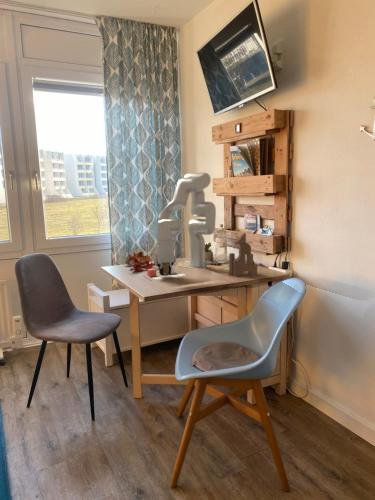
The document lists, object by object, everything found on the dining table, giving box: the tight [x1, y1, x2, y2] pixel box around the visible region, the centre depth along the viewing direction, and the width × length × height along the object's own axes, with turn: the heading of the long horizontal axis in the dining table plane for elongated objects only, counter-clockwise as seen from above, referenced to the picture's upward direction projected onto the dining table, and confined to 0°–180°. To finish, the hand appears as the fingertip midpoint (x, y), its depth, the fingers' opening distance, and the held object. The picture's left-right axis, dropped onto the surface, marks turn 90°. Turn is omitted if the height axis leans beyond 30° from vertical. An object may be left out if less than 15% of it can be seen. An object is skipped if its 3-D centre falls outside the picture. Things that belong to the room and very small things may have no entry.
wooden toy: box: [228, 232, 258, 277], centre depth 221 cm, size 16×7×25 cm, turn 101°
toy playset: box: [124, 251, 159, 273], centre depth 243 cm, size 35×26×14 cm
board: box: [142, 267, 186, 282], centre depth 218 cm, size 23×14×5 cm, turn 117°
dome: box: [171, 265, 176, 274], centre depth 223 cm, size 5×5×5 cm
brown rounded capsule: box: [162, 263, 169, 276], centre depth 214 cm, size 4×4×8 cm
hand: (165, 274), depth 214 cm, fingers closed on brown rounded capsule, 4 cm apart
